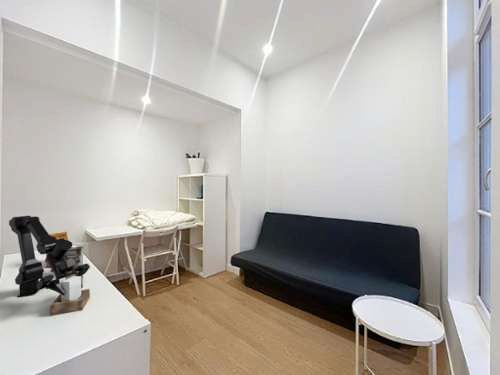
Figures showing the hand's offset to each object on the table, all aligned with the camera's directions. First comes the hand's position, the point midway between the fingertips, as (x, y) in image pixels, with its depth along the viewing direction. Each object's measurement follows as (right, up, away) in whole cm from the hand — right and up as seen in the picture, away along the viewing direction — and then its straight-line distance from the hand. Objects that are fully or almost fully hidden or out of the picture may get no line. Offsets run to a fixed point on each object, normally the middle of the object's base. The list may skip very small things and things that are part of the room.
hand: (73, 291), depth 98 cm
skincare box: (-1, -7, 0) cm, 7 cm away
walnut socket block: (-2, -7, +1) cm, 7 cm away
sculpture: (-21, -7, +26) cm, 34 cm away
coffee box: (-29, -7, +36) cm, 47 cm away
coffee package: (-52, -7, +52) cm, 74 cm away
